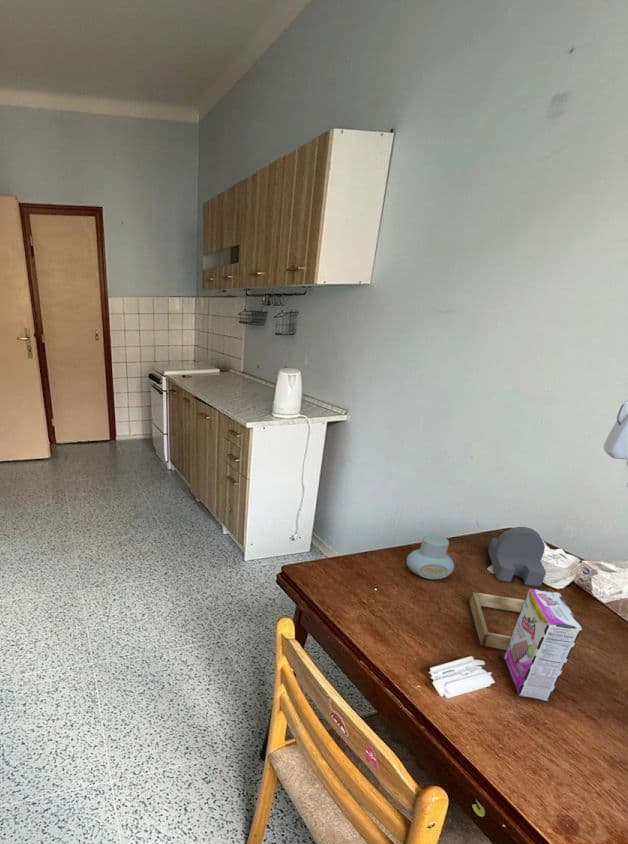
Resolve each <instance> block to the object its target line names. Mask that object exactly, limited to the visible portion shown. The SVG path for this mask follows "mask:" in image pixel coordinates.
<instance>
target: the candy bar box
mask: <svg viewBox="0 0 628 844" xmlns="http://www.w3.org/2000/svg"><path fill="white" fill-rule="evenodd" d="M524 600H525V602H524V604H523V607H522V610H521V612H519V615H518V618H517V619H516V620H517V621H516V624H515V626H514V629H513V631H512V634H511V635H510V636H511V639H510V642H509V644H508V647H507V650H505V652H504V654H503V660H504V662H505V664H506V667H507V669H508V672H509V675H510V677H511V680H512V683H513V685H514V687H515V690H516V692H517V695H518V696H519V697H523V698H529V699H534V700H539V701H544V702H549V700H550V698H551V696H552V694H553V692H554V689H555V688H556V685H557V683H558V682H559V679H560V677H561V674H562V673H563V670H564V668H565V666H566V664H567V662H568V661H569V657H570V655H571V654H572V651H573V650H574V647H575V644H576V642H577V640H578V639H579V636H580V634H581V632H582V630H583V628H582V626H581V625H580V623H579V622H578V619H577V618H576V617H575V614H574V613H573V612H572V611H571V609H570V607H569V606H568V604H567V603H566V601H565V599H564V598H563V596H562V595H561V593H560V592H556V591H550V590H542V589H541V590H539V589H537V588H529V589H528V592H527V593H526V597H525V599H524Z"/></svg>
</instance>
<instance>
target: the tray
mask: <svg viewBox="0 0 628 844" xmlns="http://www.w3.org/2000/svg"><path fill="white" fill-rule="evenodd" d="M471 592H472V593H471V595H470V599H469V601H468V602H469V606H470V610H471V614H472V617H473V622H474V625H475V629H476V632H477V636H478V639H479V643H480V646H484V647H489V648H494V649H498V650H504V651H506V650H507V647H508V644H509V642H510V639H511V636H512V635H505V634H500V633H495V632H490V631H489V629H488V626H487V622H486V619H485V616H484V613H483V610H482V607H485V608H491V609H497V610H504V611H508V612H515V613H520V612H521V610H522V607H523V604H524V602H525V599H521V598H515V597H508V596H502V595H494V594H489V593H488V594H487V593H482V592H478V591H477V592H476V591H471Z"/></svg>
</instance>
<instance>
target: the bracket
mask: <svg viewBox="0 0 628 844" xmlns="http://www.w3.org/2000/svg"><path fill="white" fill-rule="evenodd" d="M545 550H546V548H545V543H544V541H543V539H542V537H541V535H540V533H538V532H537V531H536V530H535V529H533V528H530V527H528V526H514V527H511V528H509V529H506V530H505V531H504V532H502V533H501V534H500V535H499V537H498V538H497V537H492V538H491V539H490V542H489V545H488V549H487V552H488V555H489V558H490V561H491V565H492V567H493V568H492V569H493V572H494V575H495V578H496V579H497V580H499V581H502V582H509V583H511V582H512V580H513V577H514V576H515V577H519V578H521V579H522V581H523V584H524V585H526V586H533V587H534V586H535V587H541V586H542V584H543V582H544V579H545V577H546V575H547V570H546V569H545V567H544V565H543V562H542V558H543V556H544V554H545Z"/></svg>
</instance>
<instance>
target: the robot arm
mask: <svg viewBox="0 0 628 844" xmlns="http://www.w3.org/2000/svg"><path fill="white" fill-rule="evenodd" d="M603 450H604V452H605V454H606V455H608V456H609V457H610V458H612V459H615V460H627V461H626V466H627V467H628V399H627V400H625V401H623V403H622V404H621V405H620V408H619V410H618V413H617V415H616V422H615V424H614V425H613V426H612V428H611V430H610V432H609V433H608V436H607V437H606V440H605V441H604V444H603ZM626 487H627V488H628V482H626Z"/></svg>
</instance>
